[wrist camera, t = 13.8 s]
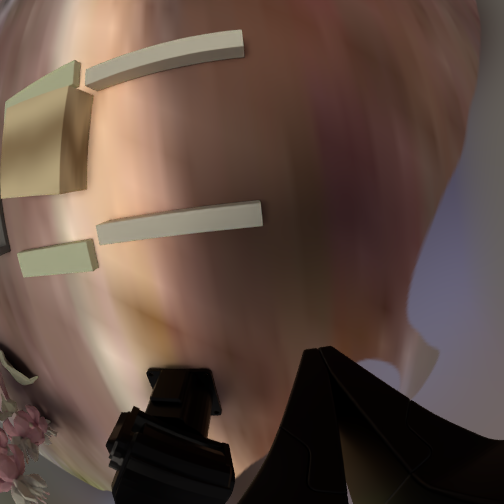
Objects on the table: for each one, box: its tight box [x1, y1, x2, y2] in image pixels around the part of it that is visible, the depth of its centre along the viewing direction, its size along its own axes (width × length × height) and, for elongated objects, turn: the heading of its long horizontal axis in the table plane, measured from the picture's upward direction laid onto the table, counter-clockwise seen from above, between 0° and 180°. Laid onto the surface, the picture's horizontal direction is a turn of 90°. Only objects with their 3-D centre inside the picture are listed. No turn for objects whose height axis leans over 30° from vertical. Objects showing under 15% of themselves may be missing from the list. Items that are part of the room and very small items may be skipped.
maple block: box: [1, 86, 94, 199], centre depth 16 cm, size 8×8×4 cm
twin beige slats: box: [85, 30, 263, 245], centre depth 17 cm, size 14×12×2 cm
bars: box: [4, 60, 98, 277], centre depth 18 cm, size 18×10×1 cm, turn 6°
